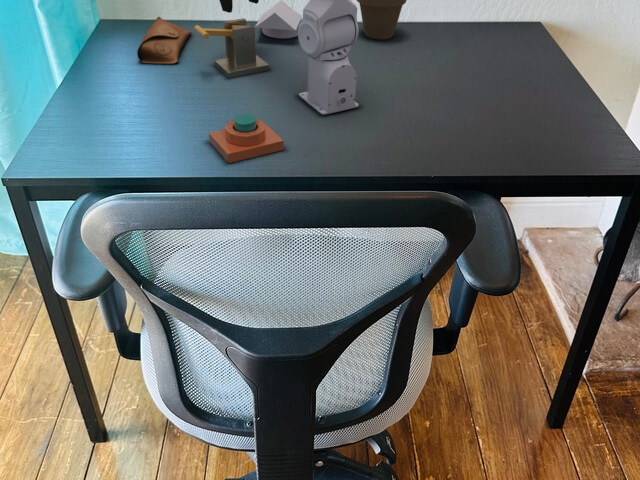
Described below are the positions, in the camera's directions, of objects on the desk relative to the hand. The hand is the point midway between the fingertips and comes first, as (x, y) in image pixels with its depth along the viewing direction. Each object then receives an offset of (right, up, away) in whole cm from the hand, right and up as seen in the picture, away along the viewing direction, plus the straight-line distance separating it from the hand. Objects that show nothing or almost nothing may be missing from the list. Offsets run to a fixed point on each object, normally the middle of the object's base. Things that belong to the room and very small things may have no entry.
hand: (240, 6), depth 133 cm
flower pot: (+29, +2, +19) cm, 35 cm away
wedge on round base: (+7, +2, +18) cm, 19 cm away
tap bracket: (0, -11, +3) cm, 12 cm away
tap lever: (-3, -8, -3) cm, 9 cm away
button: (+4, -31, -24) cm, 39 cm away
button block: (+4, -34, -21) cm, 40 cm away
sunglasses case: (-17, -5, +10) cm, 20 cm away
